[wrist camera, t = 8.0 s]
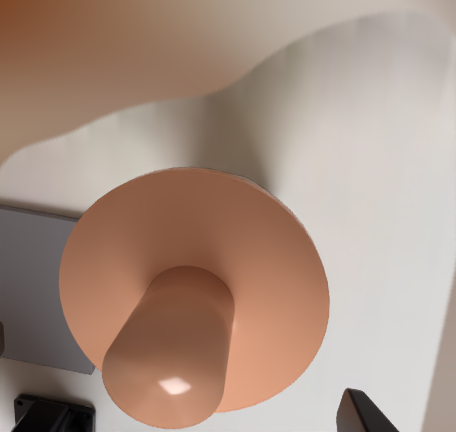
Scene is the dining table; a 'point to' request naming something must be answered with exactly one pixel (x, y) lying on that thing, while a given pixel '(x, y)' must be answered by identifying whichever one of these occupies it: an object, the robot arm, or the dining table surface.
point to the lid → (193, 295)
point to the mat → (36, 290)
